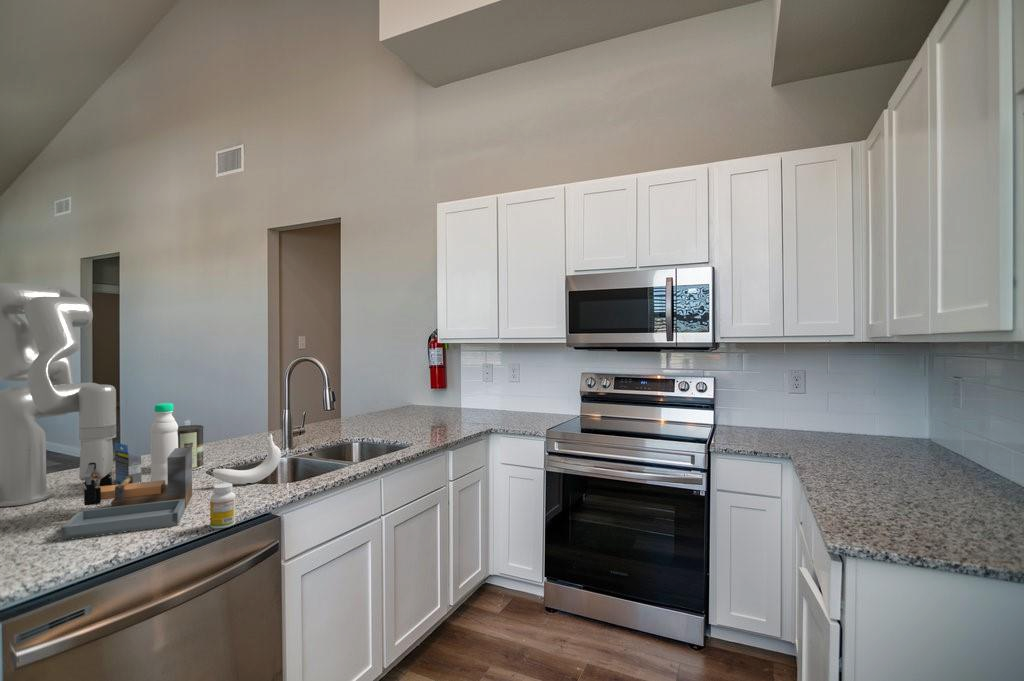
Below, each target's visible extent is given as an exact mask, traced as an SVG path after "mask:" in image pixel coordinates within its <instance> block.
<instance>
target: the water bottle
mask: <svg viewBox="0 0 1024 681" xmlns="http://www.w3.org/2000/svg"><path fill="white" fill-rule="evenodd" d="M154 412H155V415H156V416H155V418H154V419H153V422H152V424H151V426H150V428H149V430H150V434H151V435H150V450H149V451H150V462H151V463H150V481H160V480H165V484H168V466H167V458H168V456H169V455H170V454H171V453H172V452H173V450H174V449H175V448H178V433H177V430H178V426H179V425H178V423H177V421H176V419H175V417H174V416H173V412H174V404H173V403H171V402H163V403H156V404H155V406H154Z"/></svg>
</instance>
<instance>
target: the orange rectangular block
mask: <svg viewBox="0 0 1024 681" xmlns="http://www.w3.org/2000/svg"><path fill="white" fill-rule="evenodd" d="M117 485H118V484H112V485H110V486H100V487H101V501H103V500H113V499H114V498H115V487H116V486H117ZM100 487H99V488H100ZM164 488H165V480H160V481H151V480H150V481H143V482H142V481H141V482H140V483H130V484H127V485H126V486H125V487H124V496H125V497H133V496H142V495H151V494H160V493H162V491H163V490H164Z"/></svg>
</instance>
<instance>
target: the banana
mask: <svg viewBox="0 0 1024 681" xmlns="http://www.w3.org/2000/svg"><path fill="white" fill-rule="evenodd" d="M265 441H266V442H267V444H268V446H269V447H268V452H267V453H266V454H267V455H266V456H265V459H264V460H263V461H262V462H261V463H259V464H258V465H257V466H255V467H253V468H250V469H244V470H241V469H240V470H238V469H232V468H215V469H213V471H212V476H213V477H215V478H216V479H218V480H220V481H223V482H224V483H231V484H232V485H247V484H246V483H251V484H255V483H258V482H260V481H262V480H264V479H266V478H268V476H270V475H271V474H272V473H273V472H274V471H275V470H276V469H277V467H278V465H279V464H280V461H281V456H282V450H280V448H279V447H278V446H277V445H276V444H275V443H274V441H273V435H272V433H271V432H269V434H268V436H267V438H266V439H265Z"/></svg>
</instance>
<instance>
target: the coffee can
mask: <svg viewBox="0 0 1024 681" xmlns="http://www.w3.org/2000/svg"><path fill="white" fill-rule="evenodd" d="M204 429H205V428H204V425H201V424H200V425H199V424H192V425H190V424H188V425H178V430H177V433H178V448H185V447H192V470H194V471H197V470H196V469H198V470H200V469H199V468H201V469H203V468H204V466H205V465H204ZM202 467H203V468H202Z"/></svg>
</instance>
